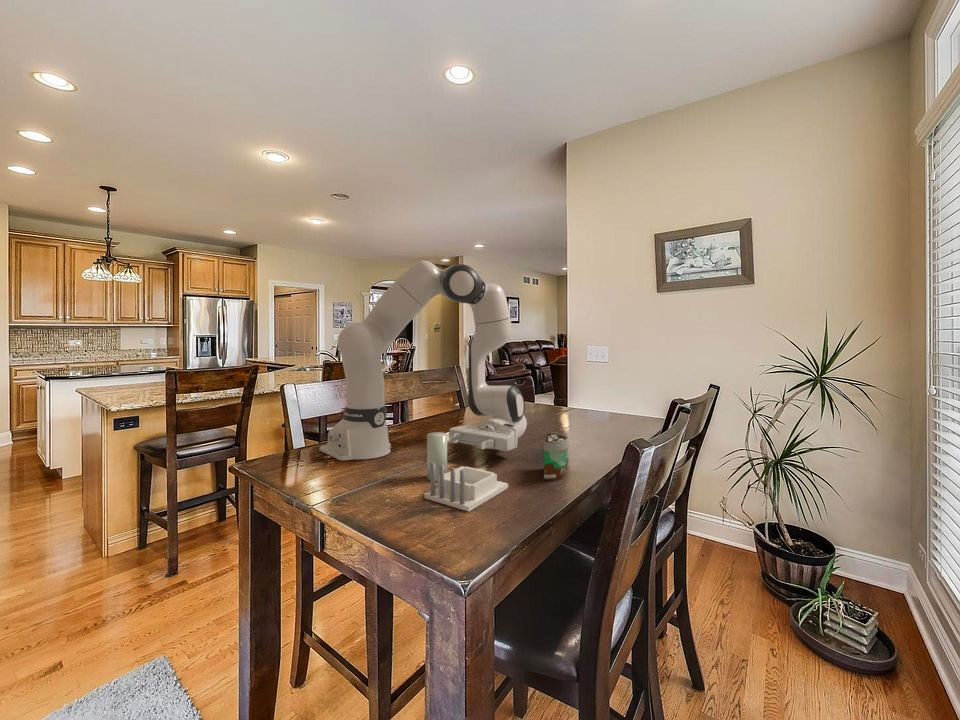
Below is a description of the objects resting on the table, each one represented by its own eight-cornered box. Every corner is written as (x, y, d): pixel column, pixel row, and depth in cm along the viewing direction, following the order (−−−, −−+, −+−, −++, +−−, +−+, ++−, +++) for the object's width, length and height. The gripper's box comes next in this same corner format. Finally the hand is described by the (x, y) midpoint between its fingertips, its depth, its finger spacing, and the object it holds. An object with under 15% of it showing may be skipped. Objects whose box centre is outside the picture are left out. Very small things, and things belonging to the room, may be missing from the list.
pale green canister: (422, 478, 104) (422, 435, 103) (435, 473, 108) (435, 431, 107) (438, 482, 101) (438, 438, 100) (451, 476, 105) (451, 434, 104)
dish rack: (424, 498, 91) (424, 462, 91) (467, 477, 105) (467, 446, 104) (468, 511, 85) (469, 473, 84) (508, 487, 98) (508, 454, 97)
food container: (569, 485, 100) (570, 444, 99) (543, 483, 101) (544, 442, 101) (568, 468, 112) (569, 432, 111) (545, 467, 113) (546, 430, 113)
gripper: (464, 418, 131) (436, 426, 119) (522, 427, 119) (496, 437, 108) (464, 438, 131) (436, 448, 120) (521, 449, 120) (496, 461, 108)
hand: (465, 443), depth 114 cm, fingers open, 8 cm apart
